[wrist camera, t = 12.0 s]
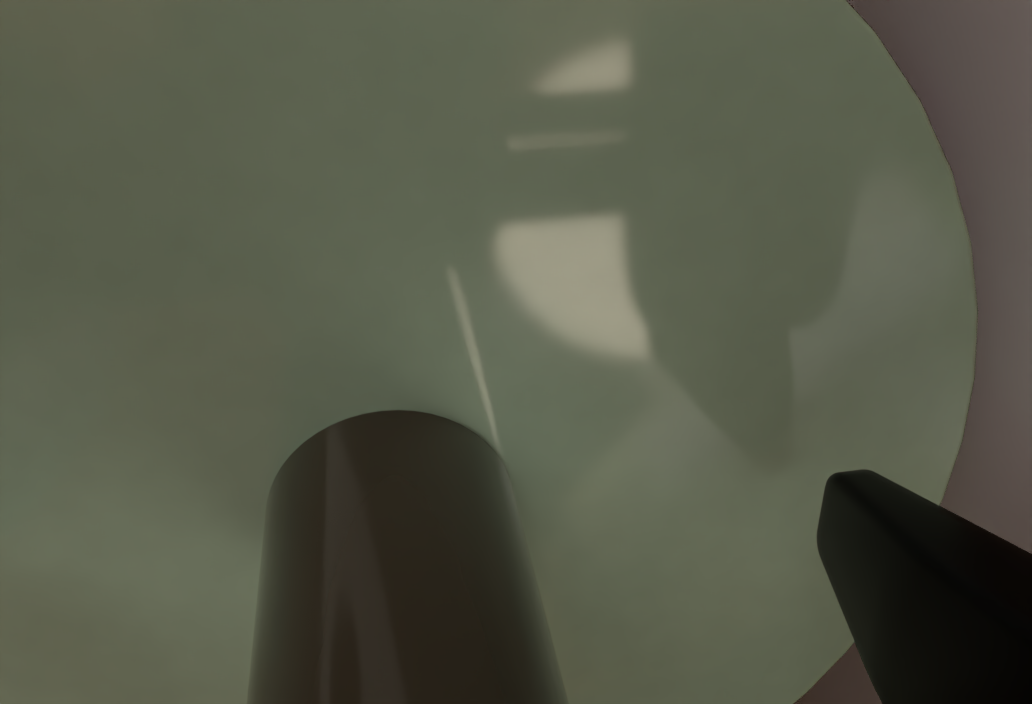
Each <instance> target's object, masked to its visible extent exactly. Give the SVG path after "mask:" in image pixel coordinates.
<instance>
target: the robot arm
mask: <svg viewBox="0 0 1032 704" xmlns="http://www.w3.org/2000/svg"><path fill="white" fill-rule="evenodd" d="M817 548H818V552H819V555H820V558H821V561H822V563H823V566H824V568H825V571H826V573H827V575H828V578H829V580H830V583H831V585H832V588H833V590H834V593H835V595H836V598H837V600H838V602H839V605H840V607H841V610H842V612H843V615H844V617H845V620H846V622H847V625H848V627H849V629H850V632H851V634H852V637H853V639H854V642H855V644H856V647H857V649H858V652H859V654H860V656H861V659H862V661H863V664H864V666H865V668H866V670H867V673H868V675H869V677H870V680H871V682H872V684H873V686H874V688H875V690H876V692H877V694H878V696H879V698H880V700H881V702H882V704H1032V554H1031V553H1029V552H1027V551H1025V550H1023V549H1021V548H1019V547H1017V546H1016V545H1014V544H1012V543H1010V542H1008V541H1006V540H1004V539H1002V538H1000V537H998V536H996V535H994V534H993V533H991V532H989V531H987V530H985V529H983V528H981V527H979V526H977V525H975V524H973V523H972V522H970V521H968V520H966V519H964V518H962V517H960V516H958V515H956V514H954V513H952V512H950V511H949V510H947V509H945V508H943V507H941V506H939V505H937V504H935V503H933V502H931V501H929V500H928V499H926V498H924V497H922V496H920V495H918V494H916V493H914V492H912V491H910V490H908V489H906V488H905V487H903V486H901V485H899V484H897V483H895V482H893V481H891V480H889V479H887V478H885V477H884V476H882V475H880V474H878V473H876V472H874V471H871V470H868V469H860V470H852V471H844V472H837V473H834V474H832V475H831V476H830V477H829V478H828V480H827V482H826V485H825V489H824V495H823V500H822V506H821V511H820V517H819V522H818V528H817Z"/></svg>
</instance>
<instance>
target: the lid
mask: <svg viewBox="0 0 1032 704" xmlns="http://www.w3.org/2000/svg"><path fill="white" fill-rule="evenodd" d="M977 323H978V306H977V296H976V287H975V277H974V267H973V258H972V248H971V241H970V237H969V233H968V230H967V226H966V222H965V218H964V215H963V211H962V207H961V203H960V200H959V196H958V192H957V188H956V185H955V181H954V177H953V173H952V170H951V168H950V166H949V163H948V161H947V159H946V157H945V154H944V152H943V150H942V148H941V145H940V143H939V141H938V139H937V137H936V134H935V132H934V130H933V128H932V125H931V123H930V121H929V119H928V116H927V114H926V112H925V110H924V107H923V105H922V103H921V101H920V99H919V97H918V96H917V94H916V93H915V91H914V90H913V88H912V87H911V85H910V84H909V82H908V81H907V79H906V78H905V76H904V75H903V73H902V72H901V70H900V69H899V67H898V66H897V64H896V63H895V61H894V59H893V58H892V56H891V55H890V53H889V52H888V50H887V49H886V47H885V46H884V44H883V43H882V41H881V40H880V38H879V37H878V35H877V34H876V32H875V31H874V30H873V29H872V27H871V26H870V25H869V24H868V23H867V22H866V21H865V20H864V19H863V18H862V17H861V16H860V14H859V13H858V12H857V11H856V10H855V9H854V8H853V7H852V6H851V5H850V4H849V3H848V1H847V0H0V704H794V703H795V702H796V701H798V700H799V699H800V698H801V697H802V696H804V695H805V694H806V693H807V692H808V691H809V690H810V689H811V688H812V687H813V686H814V685H815V684H816V683H817V682H818V681H819V680H820V679H821V678H822V677H823V676H824V674H825V673H826V672H827V671H828V670H829V669H830V668H831V667H832V666H833V665H834V664H835V663H836V662H837V661H838V660H839V659H840V658H841V657H842V656H843V655H844V654H845V653H846V652H847V651H848V650H849V648H850V647H851V646H852V645H853V643H854V639H853V637H852V634H851V632H850V629H849V627H848V625H847V622H846V620H845V617H844V615H843V612H842V610H841V607H840V605H839V602H838V600H837V598H836V595H835V593H834V590H833V588H832V585H831V583H830V580H829V578H828V575H827V573H826V571H825V568H824V566H823V563H822V561H821V558H820V555H819V552H818V548H817V528H818V522H819V517H820V511H821V506H822V500H823V495H824V489H825V485H826V482H827V480H828V478H829V477H830V476H831V475H832V474H834V473H837V472H844V471H852V470H860V469H868V470H871V471H874V472H876V473H878V474H880V475H882V476H884V477H885V478H887V479H889V480H891V481H893V482H895V483H897V484H899V485H901V486H903V487H905V488H906V489H908V490H910V491H912V492H914V493H916V494H918V495H920V496H922V497H924V498H926V499H928V500H929V501H931V502H933V503H935V504H937V505H939V506H940V504H941V502H942V500H943V498H944V495H945V492H946V489H947V486H948V483H949V480H950V477H951V474H952V471H953V468H954V465H955V462H956V459H957V456H958V453H959V450H960V447H961V444H962V441H963V437H964V431H965V426H966V421H967V416H968V411H969V405H970V400H971V395H972V390H973V385H974V379H975V365H976V344H977Z"/></svg>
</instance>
